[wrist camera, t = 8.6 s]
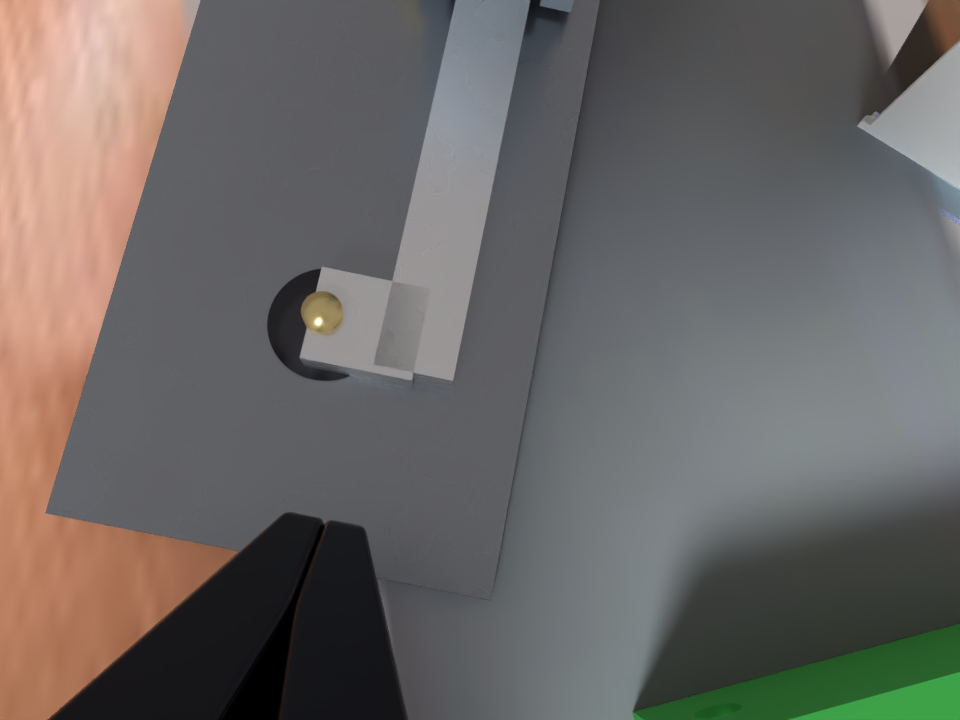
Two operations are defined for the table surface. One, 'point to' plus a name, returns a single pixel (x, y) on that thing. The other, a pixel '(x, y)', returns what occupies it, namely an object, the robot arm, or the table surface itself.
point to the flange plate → (337, 280)
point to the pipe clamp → (842, 687)
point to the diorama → (926, 110)
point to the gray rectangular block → (558, 4)
